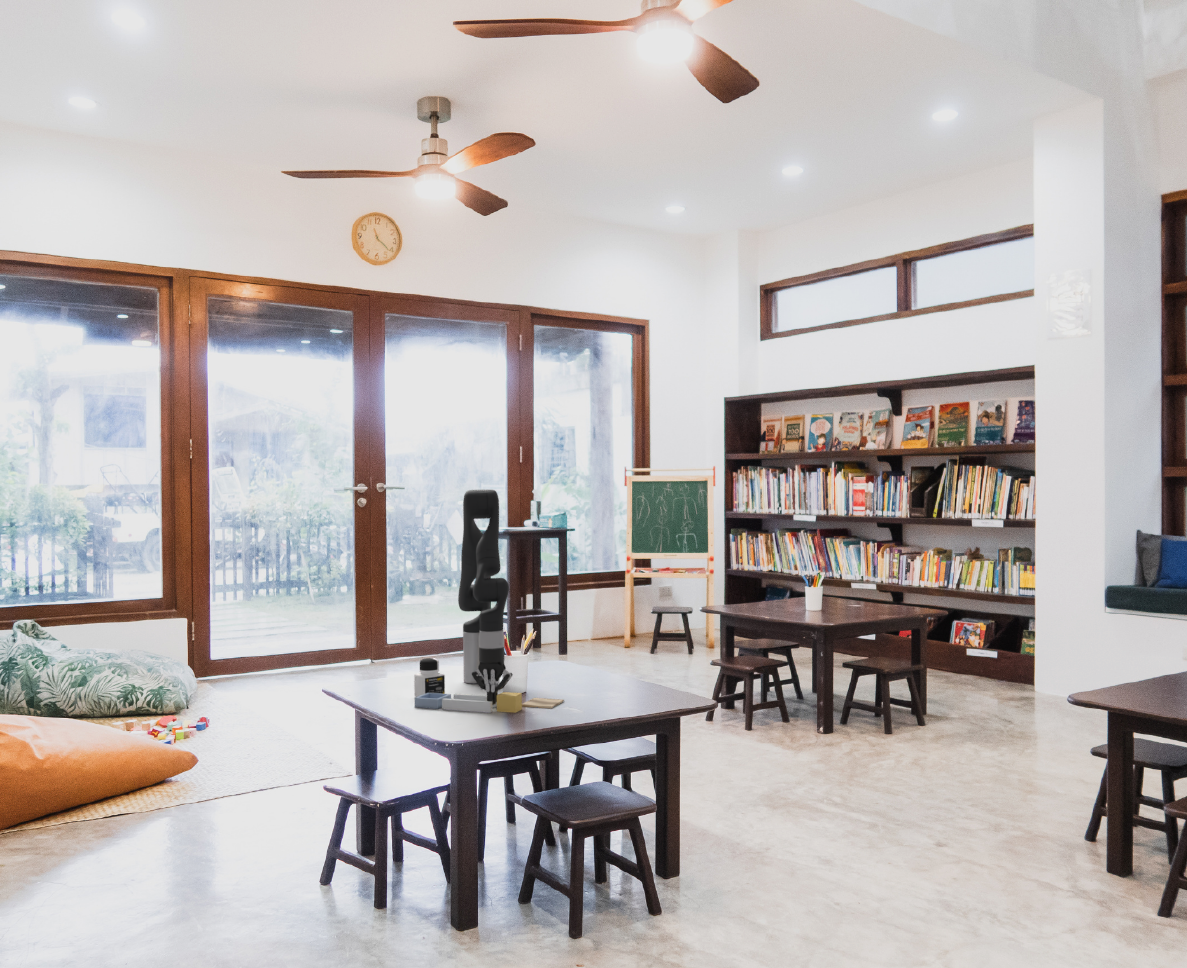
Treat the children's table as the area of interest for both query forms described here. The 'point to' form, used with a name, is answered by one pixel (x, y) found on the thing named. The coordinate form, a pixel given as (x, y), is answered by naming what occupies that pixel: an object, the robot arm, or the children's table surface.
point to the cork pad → (542, 703)
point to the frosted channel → (468, 703)
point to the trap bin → (431, 700)
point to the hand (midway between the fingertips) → (492, 704)
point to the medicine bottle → (429, 678)
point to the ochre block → (509, 702)
